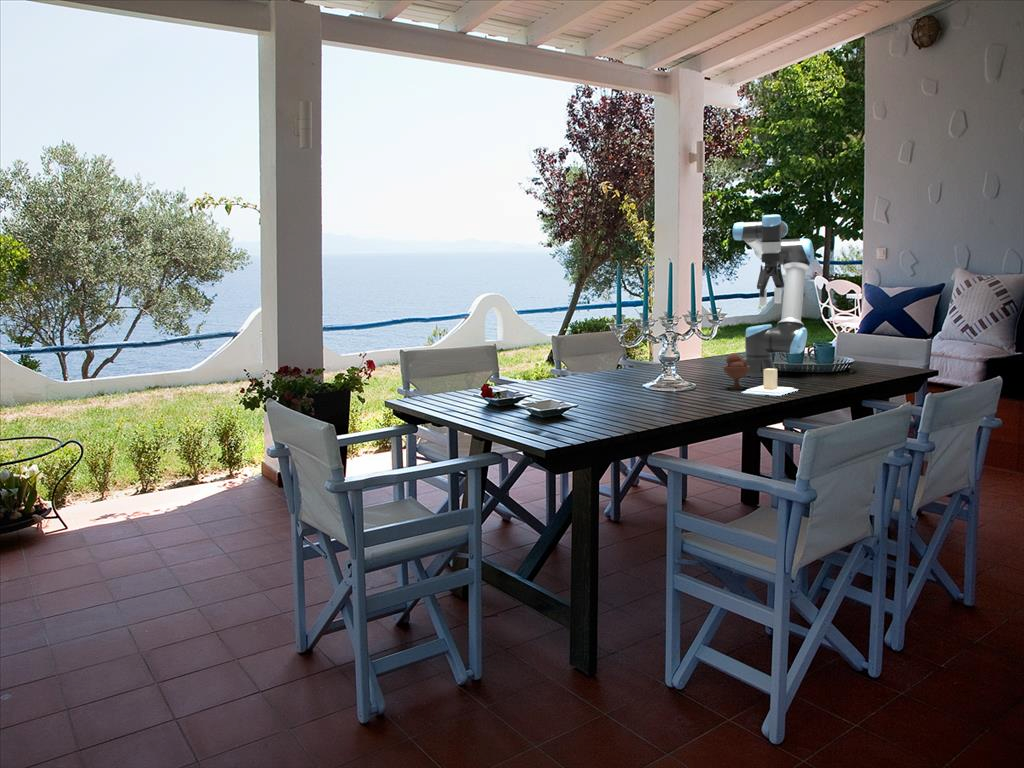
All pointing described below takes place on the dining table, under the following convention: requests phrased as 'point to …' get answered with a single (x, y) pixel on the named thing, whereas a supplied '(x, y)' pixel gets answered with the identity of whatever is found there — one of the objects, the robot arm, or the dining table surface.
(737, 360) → the ice cream bowl
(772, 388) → the lid
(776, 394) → the mat
